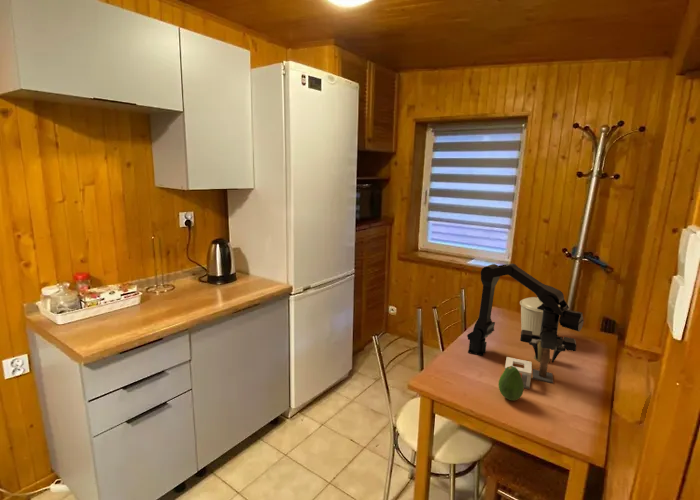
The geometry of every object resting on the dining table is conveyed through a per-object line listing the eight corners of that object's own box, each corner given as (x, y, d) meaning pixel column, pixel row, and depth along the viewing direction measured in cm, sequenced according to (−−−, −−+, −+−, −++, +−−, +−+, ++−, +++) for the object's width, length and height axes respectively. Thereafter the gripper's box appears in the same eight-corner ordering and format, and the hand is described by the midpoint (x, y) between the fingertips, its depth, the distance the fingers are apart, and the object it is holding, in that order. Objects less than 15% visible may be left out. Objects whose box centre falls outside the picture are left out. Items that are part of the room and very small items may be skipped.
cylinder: (538, 376, 150) (542, 350, 148) (538, 373, 152) (542, 347, 150) (546, 378, 149) (549, 351, 147) (546, 374, 151) (549, 348, 149)
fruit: (509, 407, 132) (513, 376, 129) (492, 395, 139) (495, 364, 136) (526, 402, 135) (530, 371, 132) (509, 390, 142) (512, 360, 139)
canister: (521, 326, 197) (525, 286, 192) (560, 335, 187) (567, 294, 182) (511, 339, 183) (516, 296, 178) (554, 350, 172) (560, 305, 168)
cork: (551, 363, 161) (555, 339, 158) (536, 362, 162) (539, 337, 160) (547, 356, 167) (550, 333, 164) (532, 355, 168) (535, 331, 165)
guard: (503, 383, 147) (504, 367, 145) (504, 371, 154) (506, 356, 153) (529, 389, 143) (531, 373, 141) (529, 377, 151) (531, 361, 149)
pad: (532, 379, 149) (532, 377, 149) (532, 370, 156) (532, 369, 156) (552, 383, 147) (553, 382, 146) (552, 374, 153) (552, 373, 153)
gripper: (522, 326, 143) (517, 364, 146) (580, 336, 135) (574, 376, 139) (523, 315, 153) (518, 351, 156) (577, 324, 145) (571, 362, 148)
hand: (544, 360), depth 150 cm, fingers open, 5 cm apart
